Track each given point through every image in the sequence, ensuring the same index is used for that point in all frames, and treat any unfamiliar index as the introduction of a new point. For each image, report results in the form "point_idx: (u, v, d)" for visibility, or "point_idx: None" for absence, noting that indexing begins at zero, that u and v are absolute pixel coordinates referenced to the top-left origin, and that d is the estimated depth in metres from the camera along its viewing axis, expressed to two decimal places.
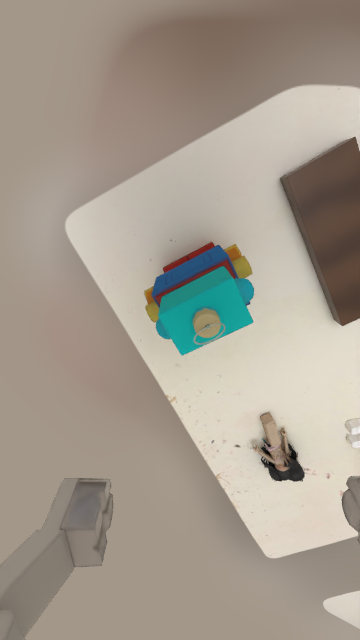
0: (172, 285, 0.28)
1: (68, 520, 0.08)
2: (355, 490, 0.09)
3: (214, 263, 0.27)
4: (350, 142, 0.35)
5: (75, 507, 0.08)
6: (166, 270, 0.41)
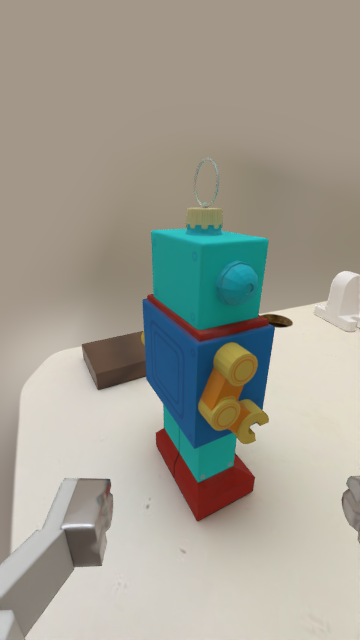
0: (179, 328, 0.17)
1: (68, 520, 0.08)
2: (355, 490, 0.09)
3: (150, 305, 0.21)
4: (84, 345, 0.42)
5: (75, 507, 0.08)
6: (197, 495, 0.21)
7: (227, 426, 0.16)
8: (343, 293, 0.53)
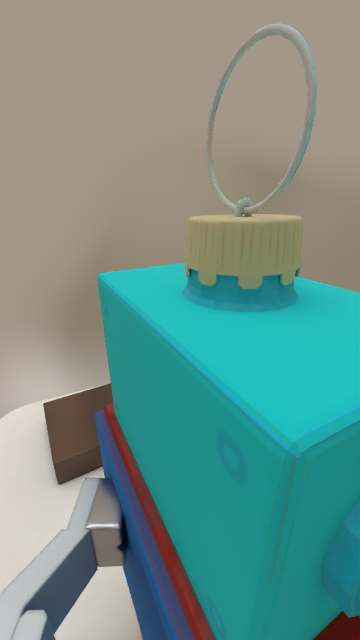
0: (169, 607, 0.05)
1: (93, 520, 0.08)
2: None
3: (106, 440, 0.09)
4: (46, 406, 0.30)
5: (99, 507, 0.08)
6: None
7: None
8: None
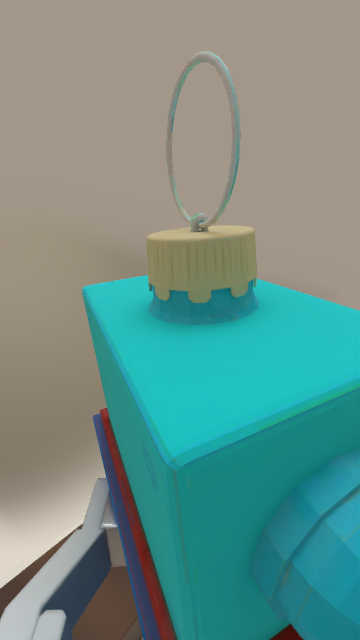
0: (140, 602, 0.06)
1: (107, 520, 0.08)
2: None
3: (101, 442, 0.10)
4: None
5: (112, 507, 0.08)
6: None
7: None
8: None
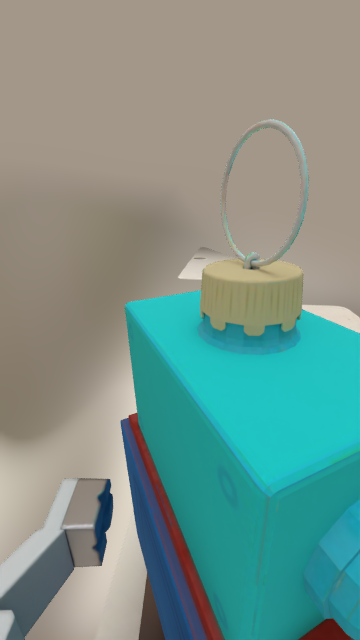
0: (182, 597, 0.06)
1: (68, 520, 0.08)
2: None
3: (131, 446, 0.10)
4: None
5: (75, 507, 0.08)
6: None
7: None
8: None
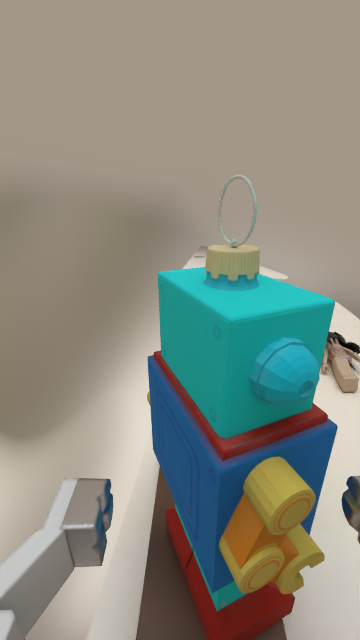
0: (192, 424, 0.12)
1: (68, 520, 0.08)
2: (355, 490, 0.09)
3: (156, 368, 0.16)
4: None
5: (75, 507, 0.08)
6: (216, 630, 0.16)
7: (263, 584, 0.11)
8: None
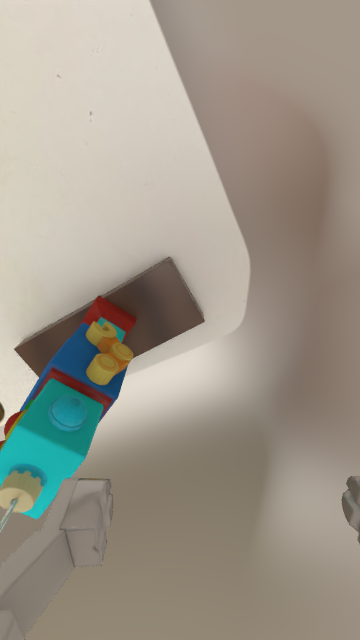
0: (101, 417, 0.22)
1: (68, 520, 0.08)
2: (355, 490, 0.09)
3: None
4: (200, 318, 0.36)
5: (75, 507, 0.08)
6: (130, 327, 0.34)
7: (123, 345, 0.25)
8: None
